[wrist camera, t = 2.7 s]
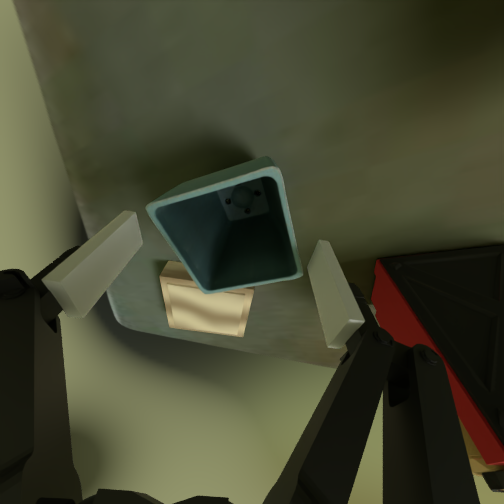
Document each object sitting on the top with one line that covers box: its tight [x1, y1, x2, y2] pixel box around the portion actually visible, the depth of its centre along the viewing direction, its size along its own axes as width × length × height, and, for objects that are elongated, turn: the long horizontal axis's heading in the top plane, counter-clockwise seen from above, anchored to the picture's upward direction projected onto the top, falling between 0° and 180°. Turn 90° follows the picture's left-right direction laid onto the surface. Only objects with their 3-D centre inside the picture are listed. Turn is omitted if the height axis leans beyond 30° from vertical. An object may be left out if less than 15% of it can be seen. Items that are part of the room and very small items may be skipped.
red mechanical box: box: [371, 245, 504, 492], centre depth 19 cm, size 16×10×20 cm, turn 102°
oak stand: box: [159, 260, 254, 337], centre depth 30 cm, size 12×12×3 cm
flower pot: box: [146, 156, 303, 294], centre depth 17 cm, size 9×9×9 cm
